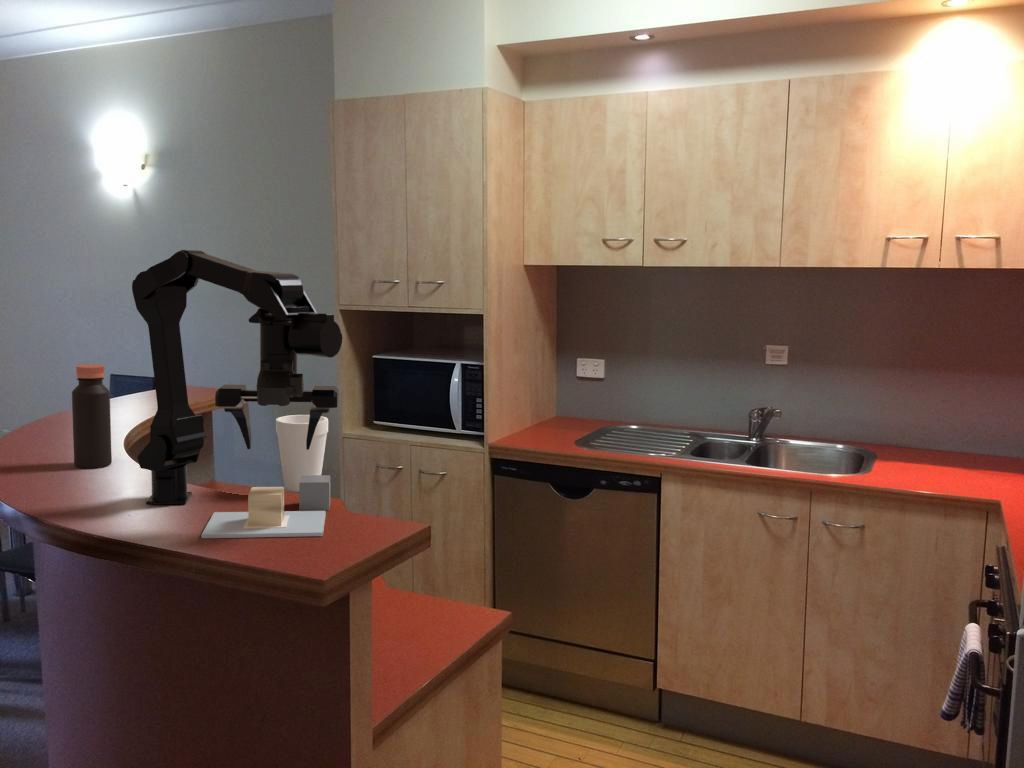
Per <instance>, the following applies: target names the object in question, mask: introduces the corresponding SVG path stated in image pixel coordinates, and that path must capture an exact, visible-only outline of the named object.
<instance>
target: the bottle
mask: <svg viewBox="0 0 1024 768" xmlns="http://www.w3.org/2000/svg"><path fill="white" fill-rule="evenodd" d="M104 367H105V366H104V365H103V364H80V365H77V366H76V380H77V381H78V384H77V386H76V387H75V388H74V389H73V390H72V391H71V408H72V412H71V413H72V434H73V435H72V439H73V443H72V444H73V465H74V466H75V467H76V468H79V469H85V470H86V469H89V470H90V469H101V468H105V467H108V466H111V465H112V461H113V460H112V428H111V423H112V422H111V395H110V394H111V393H110V390H109V388H108V387H106V386H105V385H104V383H103V380H104V377H105V368H104Z"/></svg>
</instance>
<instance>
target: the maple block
mask: <svg viewBox="0 0 1024 768" xmlns="http://www.w3.org/2000/svg"><path fill="white" fill-rule="evenodd" d="M247 496H248V498H247V501H248V502H247V504H248V505H247V510H248V511H247V512H248V526H281V525H282V522H283V518H284V511H285V486H252V487H251V488H250V491H249V493H248V495H247Z"/></svg>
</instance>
